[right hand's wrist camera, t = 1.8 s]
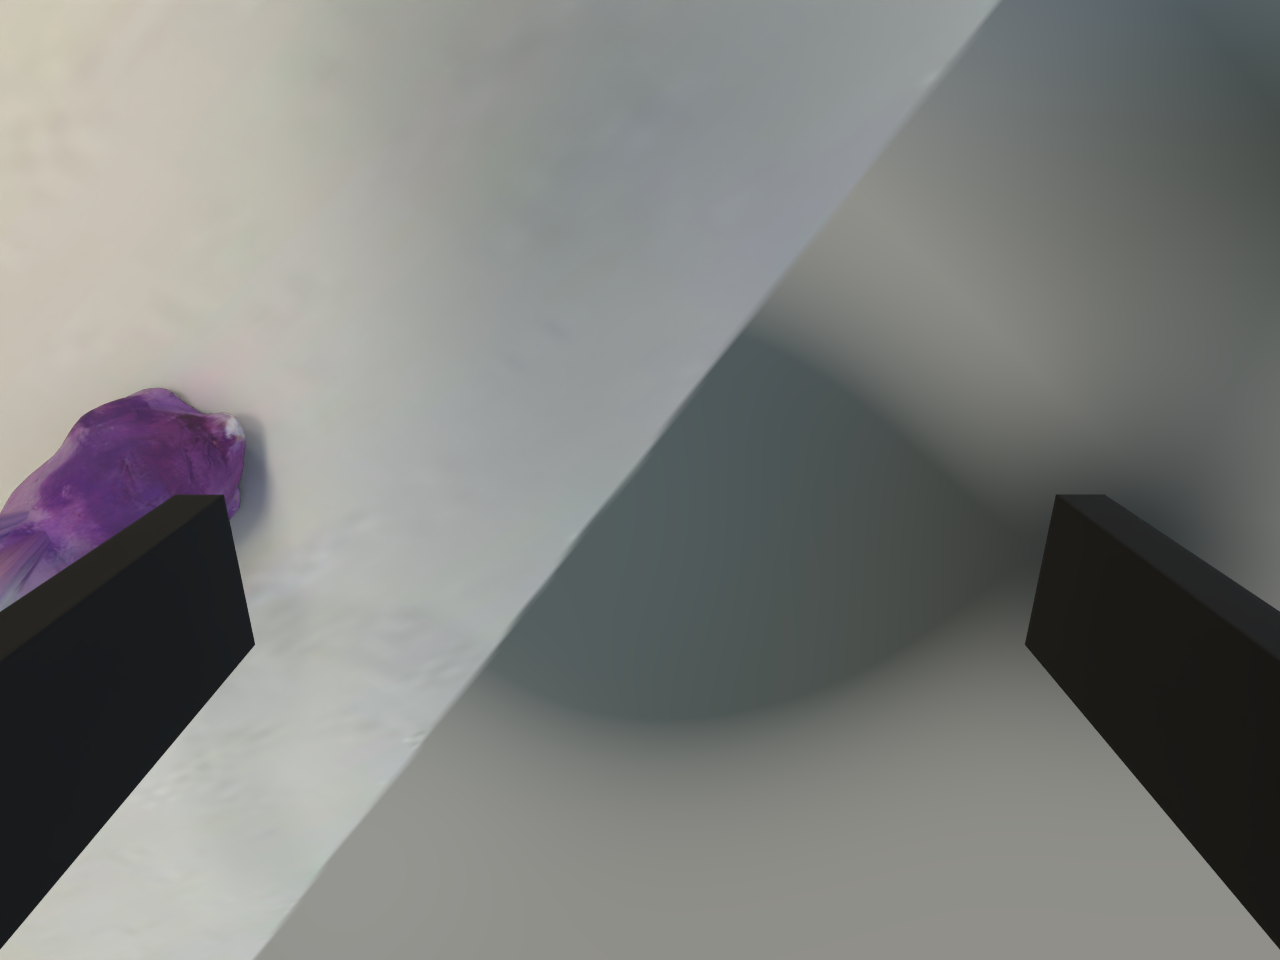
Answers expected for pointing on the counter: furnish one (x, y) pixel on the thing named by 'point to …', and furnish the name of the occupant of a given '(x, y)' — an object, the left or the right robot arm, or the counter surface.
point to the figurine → (114, 482)
